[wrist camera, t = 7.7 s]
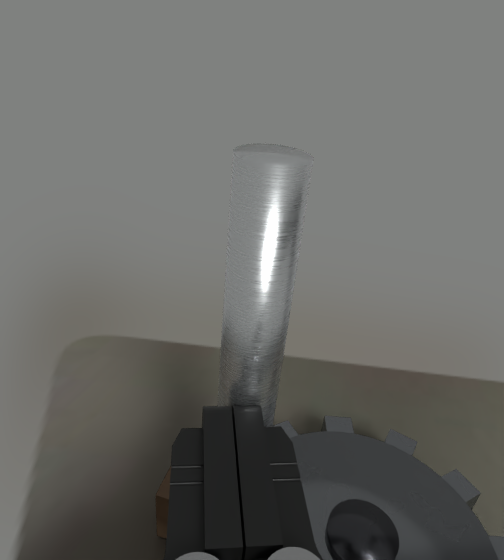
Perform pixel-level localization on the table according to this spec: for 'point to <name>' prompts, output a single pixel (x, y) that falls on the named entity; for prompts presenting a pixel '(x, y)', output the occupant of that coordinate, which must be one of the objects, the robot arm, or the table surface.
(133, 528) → the table surface
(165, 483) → the brown block
